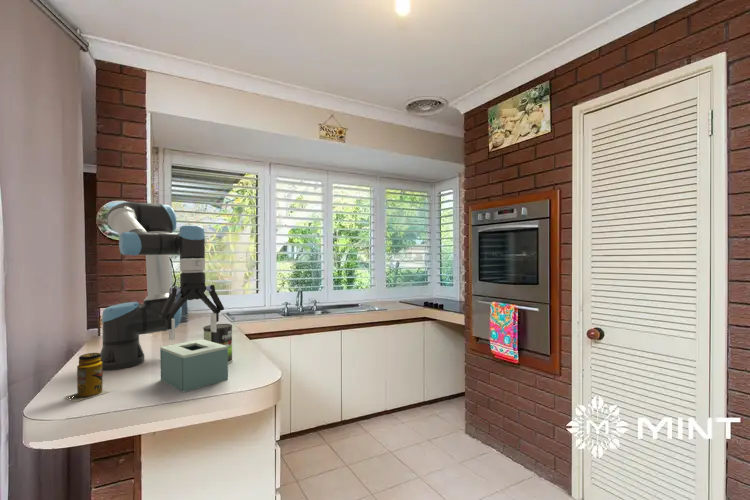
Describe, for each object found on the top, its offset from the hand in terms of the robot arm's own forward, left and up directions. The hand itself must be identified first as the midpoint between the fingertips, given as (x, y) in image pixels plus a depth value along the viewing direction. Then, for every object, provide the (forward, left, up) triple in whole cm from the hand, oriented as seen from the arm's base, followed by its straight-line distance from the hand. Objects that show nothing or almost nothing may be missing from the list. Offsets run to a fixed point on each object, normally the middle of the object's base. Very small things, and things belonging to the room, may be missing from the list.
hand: (193, 335), depth 121 cm
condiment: (-13, -26, -15) cm, 33 cm away
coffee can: (-13, +15, -15) cm, 25 cm away
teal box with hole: (0, 0, -15) cm, 15 cm away
